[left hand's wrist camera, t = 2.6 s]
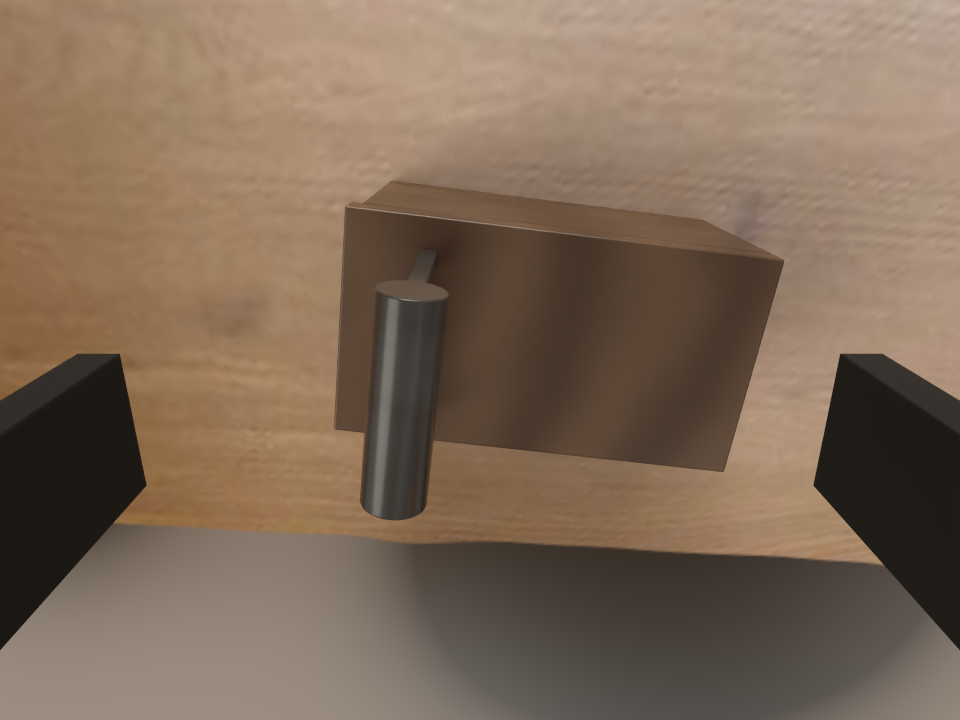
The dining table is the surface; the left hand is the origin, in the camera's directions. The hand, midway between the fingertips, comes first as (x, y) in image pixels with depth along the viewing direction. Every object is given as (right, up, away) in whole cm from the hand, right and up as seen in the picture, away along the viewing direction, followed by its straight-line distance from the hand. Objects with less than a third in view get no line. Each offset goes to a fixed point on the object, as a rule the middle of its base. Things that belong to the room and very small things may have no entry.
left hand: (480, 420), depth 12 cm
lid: (+3, +2, +16) cm, 16 cm away
